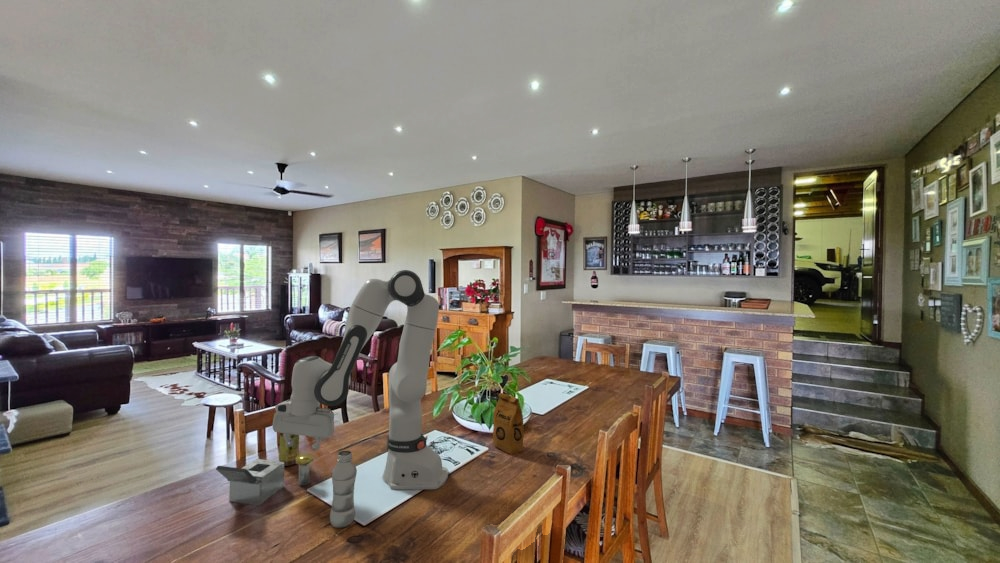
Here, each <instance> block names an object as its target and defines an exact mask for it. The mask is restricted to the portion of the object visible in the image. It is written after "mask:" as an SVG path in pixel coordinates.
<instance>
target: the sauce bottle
mask: <svg viewBox="0 0 1000 563" xmlns="http://www.w3.org/2000/svg"><path fill="white" fill-rule="evenodd" d="M290 437H291V440H293V446H291V447H287V446H286V441H285V439H284V437H283V433H280V436H279V450H278V451H279V452H278V453H279V454H278V458H279V459H278V460H279V462H285V463H284V467H287V466H292V465H295V464H296V456H298V455H299V454H300V453H299V450H300V448H299V447H300V435H294V434H290Z"/></svg>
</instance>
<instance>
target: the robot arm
mask: <svg viewBox="0 0 1000 563" xmlns="http://www.w3.org/2000/svg"><path fill="white" fill-rule="evenodd" d="M395 301H397V302H400V303H401V304H403V305H405V306H406V307H407V308H406V309H407V312H406V317H405V321H404V325H403V328H402V333H401V337H400V341H399V343H398V344H399V345H398V346H399V347H398V355H397V361H396V362H395V363H394V364H392V366H391V367H390V369H389V371H388V404H389V405H388V408H389V420H388V422H389V423H388V435H387V440H386V441H387V442H386V450H387V455H386V463H385V466H384V470H383V474H382V479H383V481H384V483H387V484H388V486H389V488H390V489H392V490H437V489H438V488H440V487H442V486H444V484H445V483H446V481H447V480H448V478H449V469H448V468H447V467H445V466H443V462H442V458H441V456H440V454H438V453H437V452H435V451H434V450H433V449H432V448H431V447H429V446H428V445H427V440H428V436H429V435H426V436H424V435H423V432H422V421H423V420H422V418H423V417H422V416H423V411H422V402H421V401H422V398H424V396H425V395H426V392H427V386H428V384H427V383H428V377H429V368H430V361H431V360H430V358H431V350H432V346H433V342H434V338H435V334H436V329H437V326H438V322H439V320H438V319H439V314H440V313H439V309H440V304H439V301H438V300H437V299H436V297H434V296H431V295H429V294H426V293H425V290H424V287H423V284H422V281H421V278H420V277H419V275H418V274H417V273H415V272H414V271H412V270H407V269H402V270H399V271H397V272H395V273H394V274H393V275H391V278H389V280H387V281H385V280H382V279H378V278H370V279H368V280H366V281H365V282H364V284H363V285H362V286H361V288H360V289H359V291H358V293H357V294H356V295H355V298H354V300H353V302H352V303H351V305H350V308H349V311H348V313H347V317H346V322H345V324H344V326H345V327H344V330H343V331H344V332H343V333H344V334H343V336H342V337H343V338H342V341H341V344H340V347H339V349H338V351H337V353H336V356H335V358H334V360H333V362H332V363H330V362H328V361H326V360H324V359H322V358H321V357H320V356H316V355H312V356H306V357H302V358H300V359H299V360H296V362H295V363H294V366H293V369H292V373H291V374H292V376H291V389H292V391H291V395H290V399H287V400H284V401H282V402H280V403H278V404H276V405H275V408H274V410H275V411H276V412H275V413H274V414H273V419H272V430H273V431H274V432H275V433H280V434H281V433H283V437H284V439H285V441H286V446H287V447H291V446H293V440H291V437H290V434H294V435H299V436H303V437H304V436H305V437H309V438H310V437H311V438H315V441H316V442H314V443H313V444H312V445H311V446H312V447H311V450H312V451H318V450H319V449H320V444H321V443H322V441H323V439H329V438H330V437H332V436H333V435H334V434H335V413H334V412H333V410H331V408H324V407H320V405H323V406H326V407H335V406H338V405H341V404H342V403H343V402H344V401H345V400H346V399H347V398H348V395H349V391H350V385H351V380H352V379H351V378H352V376H351V373H352V372H353V369H354V366H355V364H356V362H357V360H358V358H359V355H360V354H361V352H362V349H363V348H364V346H366V344H367V343H368V341H369V340H370V338H371V337H372V335H373V334H374V332H376V330H377V329H378V327H379V325H380V323H381V322H382V319H383V317H384V315H385V313H386V311H387V309H388V307H389V305H391V303H392V302H395Z"/></svg>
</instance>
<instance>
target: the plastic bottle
mask: <svg viewBox="0 0 1000 563" xmlns="http://www.w3.org/2000/svg"><path fill="white" fill-rule="evenodd" d="M352 460H353V453H352V451H351V450H342V451H339V452H338V453H337V458H336V461H337V463H336V464H335V466H333V469H332V471H331V480H332V481H331V482H332V503H331V509H330V512H329V522H330V524H331V526H332V527H334V528H337V529H339V528H341V529H342V528H346V527H348V526H350V525H351V524H352V523H353V522H354V520H355V516H356V508H355V507H356V506H355V497H354V494H355V493H354V492H355V484H356V478H357V477H356V476H357V473H358V472H357V471H358V470H357V467H356V465H355V463H353V461H352Z"/></svg>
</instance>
